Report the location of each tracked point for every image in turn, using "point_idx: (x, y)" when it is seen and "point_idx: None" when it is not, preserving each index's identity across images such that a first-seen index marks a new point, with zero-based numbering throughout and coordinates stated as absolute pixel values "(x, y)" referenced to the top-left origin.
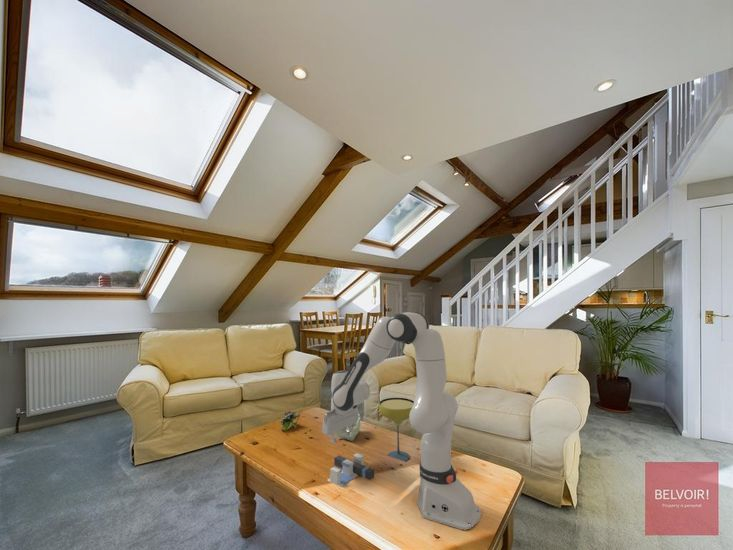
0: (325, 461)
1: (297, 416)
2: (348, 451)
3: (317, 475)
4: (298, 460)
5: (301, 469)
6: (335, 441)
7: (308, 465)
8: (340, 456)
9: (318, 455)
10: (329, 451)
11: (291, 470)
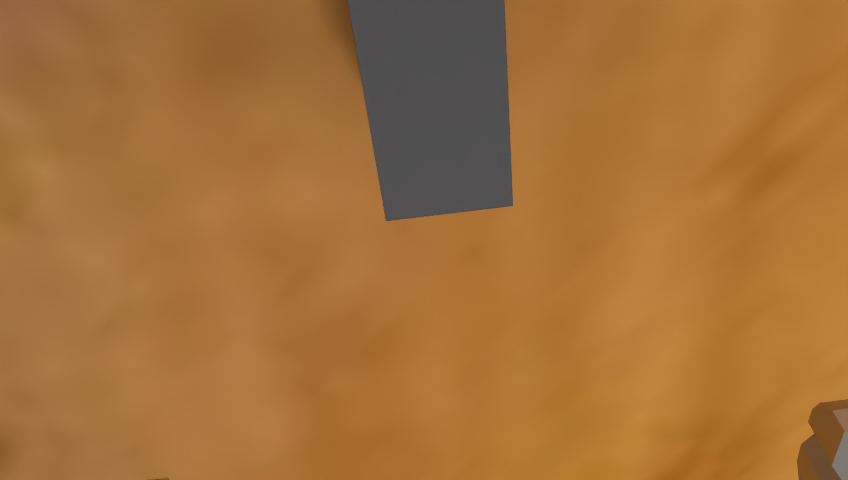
0: (442, 311)
1: None
2: (17, 317)
3: (786, 124)
4: (628, 471)
5: (763, 340)
6: (844, 404)
7: (647, 356)
8: (392, 175)
9: (406, 439)
10: (245, 436)
11: (835, 381)
